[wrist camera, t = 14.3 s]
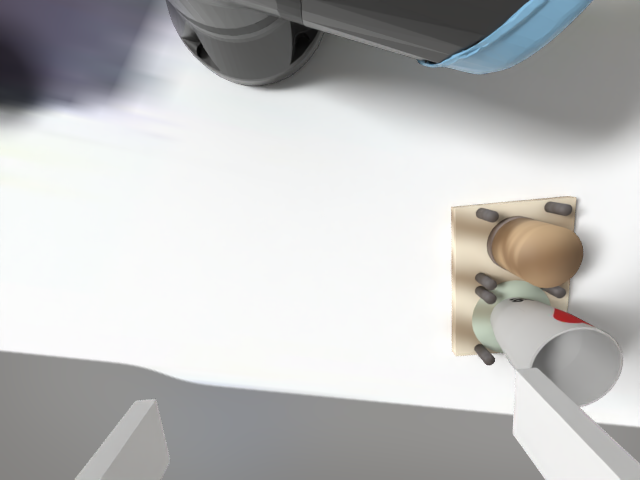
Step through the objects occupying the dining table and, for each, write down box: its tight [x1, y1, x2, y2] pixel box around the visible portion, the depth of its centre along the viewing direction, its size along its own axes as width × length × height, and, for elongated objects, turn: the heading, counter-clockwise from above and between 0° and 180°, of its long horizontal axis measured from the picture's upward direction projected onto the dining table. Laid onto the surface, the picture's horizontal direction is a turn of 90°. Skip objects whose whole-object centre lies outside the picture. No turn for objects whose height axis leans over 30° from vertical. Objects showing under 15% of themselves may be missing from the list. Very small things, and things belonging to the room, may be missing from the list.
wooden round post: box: [487, 216, 583, 288], centre depth 34 cm, size 6×6×6 cm
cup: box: [490, 297, 623, 407], centre depth 34 cm, size 8×8×10 cm
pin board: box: [451, 196, 576, 365], centre depth 37 cm, size 18×13×4 cm
